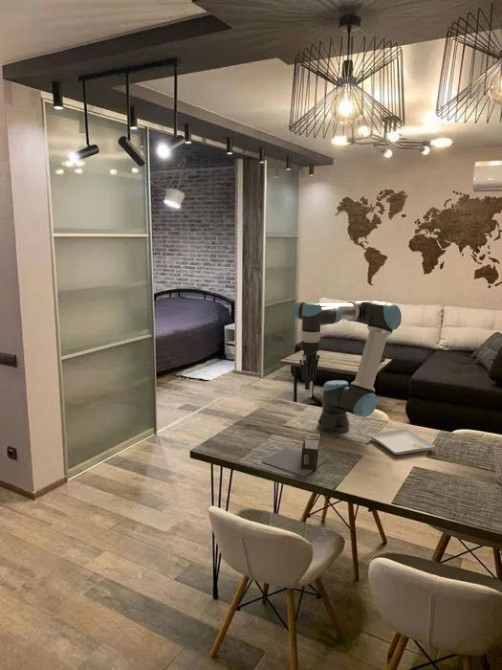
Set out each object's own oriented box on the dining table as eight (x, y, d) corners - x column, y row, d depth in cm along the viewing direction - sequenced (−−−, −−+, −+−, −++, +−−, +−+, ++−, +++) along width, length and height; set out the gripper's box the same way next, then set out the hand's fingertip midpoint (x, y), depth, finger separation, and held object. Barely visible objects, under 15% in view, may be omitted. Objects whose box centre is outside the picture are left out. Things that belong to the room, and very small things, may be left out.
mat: (285, 448, 220) (285, 447, 220) (326, 460, 208) (326, 459, 208) (262, 462, 205) (262, 461, 205) (304, 476, 194) (304, 475, 194)
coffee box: (305, 432, 213) (301, 447, 198) (320, 433, 212) (317, 448, 197) (304, 452, 215) (300, 468, 199) (319, 454, 214) (316, 470, 198)
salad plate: (394, 459, 212) (395, 451, 211) (367, 440, 232) (367, 433, 231) (436, 453, 219) (436, 445, 218) (406, 435, 239) (406, 428, 238)
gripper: (310, 337, 212) (308, 390, 216) (294, 342, 201) (292, 398, 206) (326, 339, 208) (323, 394, 212) (310, 344, 197) (308, 402, 202)
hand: (308, 396), depth 209 cm, fingers closed
